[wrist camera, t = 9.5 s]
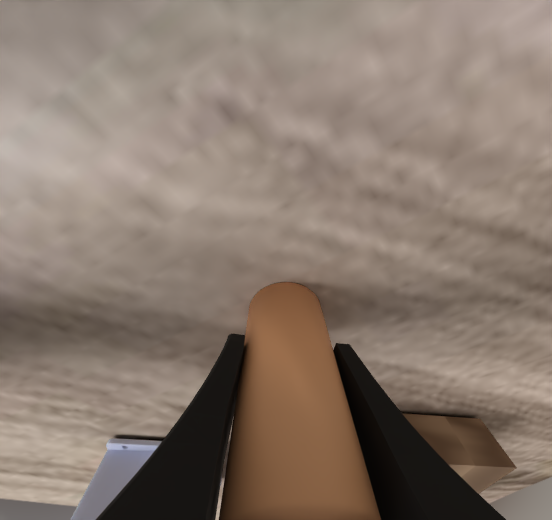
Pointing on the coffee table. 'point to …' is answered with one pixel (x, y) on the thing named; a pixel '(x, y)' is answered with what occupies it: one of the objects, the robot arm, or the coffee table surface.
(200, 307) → the coffee table surface
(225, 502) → the dowel
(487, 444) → the brown square frame
